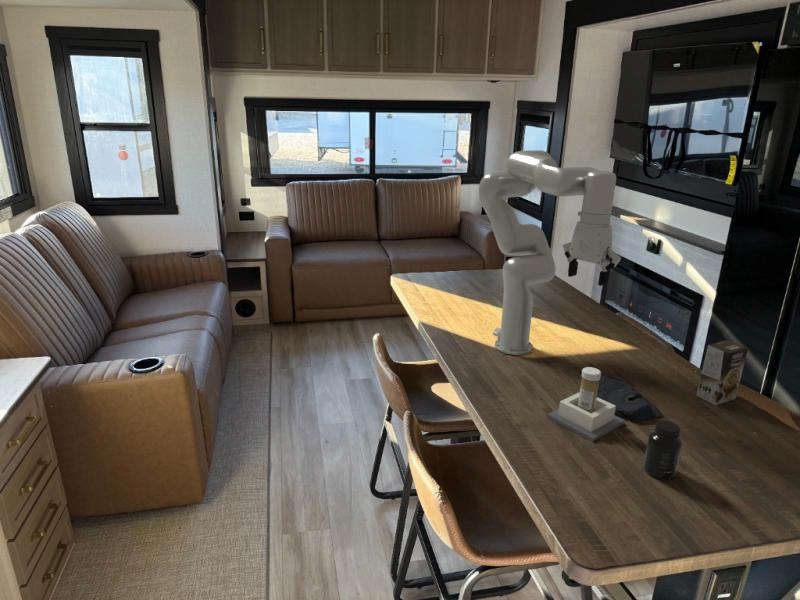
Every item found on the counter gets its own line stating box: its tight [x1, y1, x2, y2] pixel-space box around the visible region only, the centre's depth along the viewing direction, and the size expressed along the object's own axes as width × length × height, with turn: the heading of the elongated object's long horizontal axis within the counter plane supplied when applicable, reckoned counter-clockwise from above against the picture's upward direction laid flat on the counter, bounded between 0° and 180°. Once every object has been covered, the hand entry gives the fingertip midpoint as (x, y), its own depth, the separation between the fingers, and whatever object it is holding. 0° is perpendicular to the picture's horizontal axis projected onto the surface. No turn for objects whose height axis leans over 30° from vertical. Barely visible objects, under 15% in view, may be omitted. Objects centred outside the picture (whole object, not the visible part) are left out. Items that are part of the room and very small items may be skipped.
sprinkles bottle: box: [578, 366, 602, 414], centre depth 147 cm, size 5×5×14 cm
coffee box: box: [696, 339, 749, 406], centre depth 160 cm, size 9×6×16 cm
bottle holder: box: [546, 391, 626, 443], centre depth 148 cm, size 14×14×5 cm
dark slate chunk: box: [580, 374, 663, 422], centre depth 159 cm, size 15×22×5 cm
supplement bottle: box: [643, 419, 683, 481], centre depth 127 cm, size 7×7×12 cm
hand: (587, 280), depth 157 cm, fingers open, 9 cm apart
